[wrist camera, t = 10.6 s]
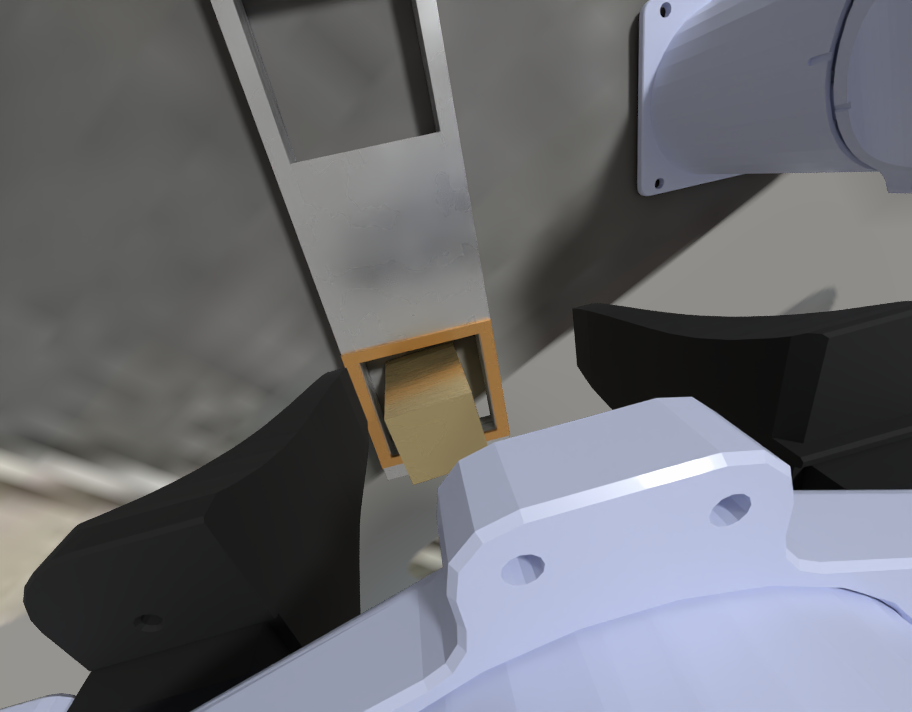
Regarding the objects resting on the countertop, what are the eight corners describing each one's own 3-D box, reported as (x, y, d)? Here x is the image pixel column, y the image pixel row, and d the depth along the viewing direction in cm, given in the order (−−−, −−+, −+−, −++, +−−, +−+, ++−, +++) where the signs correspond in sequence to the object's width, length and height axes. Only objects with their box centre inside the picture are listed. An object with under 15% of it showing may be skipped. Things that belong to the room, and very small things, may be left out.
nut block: (451, 340, 22) (471, 392, 17) (469, 396, 24) (491, 459, 19) (385, 361, 22) (384, 420, 17) (408, 416, 24) (413, 485, 19)
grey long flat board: (408, -121, 14) (410, -157, 13) (505, 433, 26) (512, 449, 24) (191, -82, 14) (166, -115, 12) (387, 464, 25) (387, 482, 24)
